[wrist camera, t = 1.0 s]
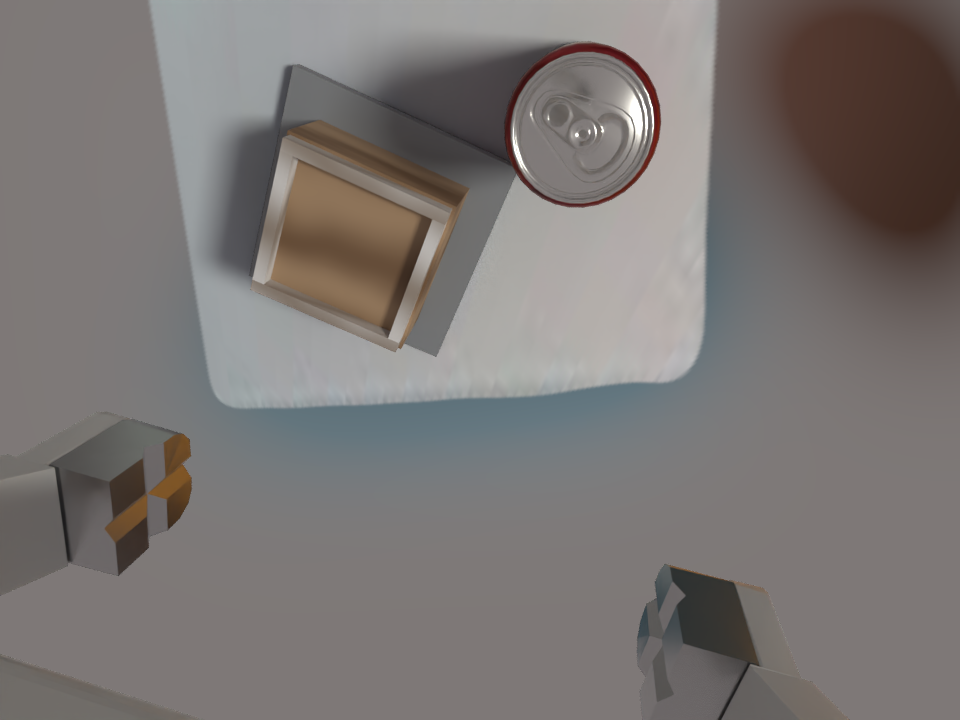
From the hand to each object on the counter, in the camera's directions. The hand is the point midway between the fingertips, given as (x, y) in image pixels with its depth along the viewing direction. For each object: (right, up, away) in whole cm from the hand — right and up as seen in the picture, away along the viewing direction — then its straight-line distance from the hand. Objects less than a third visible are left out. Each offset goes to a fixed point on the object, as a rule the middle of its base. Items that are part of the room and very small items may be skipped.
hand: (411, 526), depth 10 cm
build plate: (-7, +13, +33) cm, 36 cm away
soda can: (+8, +19, +27) cm, 34 cm away
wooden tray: (-7, +13, +33) cm, 36 cm away
